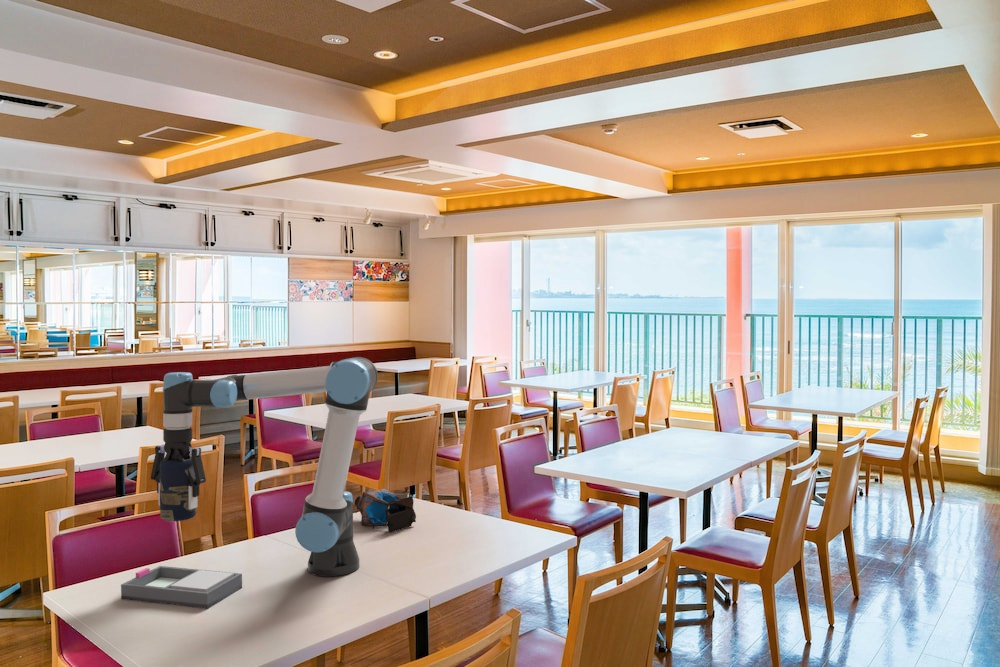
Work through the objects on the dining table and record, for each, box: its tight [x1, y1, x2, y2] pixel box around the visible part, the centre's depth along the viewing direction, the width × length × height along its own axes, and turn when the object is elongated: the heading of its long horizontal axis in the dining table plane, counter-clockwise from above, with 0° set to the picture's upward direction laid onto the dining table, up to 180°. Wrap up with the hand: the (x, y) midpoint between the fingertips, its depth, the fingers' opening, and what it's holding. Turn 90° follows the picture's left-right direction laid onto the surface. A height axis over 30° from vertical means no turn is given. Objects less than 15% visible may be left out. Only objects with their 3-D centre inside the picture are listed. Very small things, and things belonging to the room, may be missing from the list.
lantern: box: [354, 487, 417, 533], centre depth 267 cm, size 16×16×25 cm
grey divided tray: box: [120, 565, 243, 610], centre depth 203 cm, size 27×15×5 cm, turn 75°
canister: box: [159, 458, 197, 522], centre depth 208 cm, size 10×10×18 cm
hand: (178, 506), depth 208 cm, fingers closed on canister, 9 cm apart
